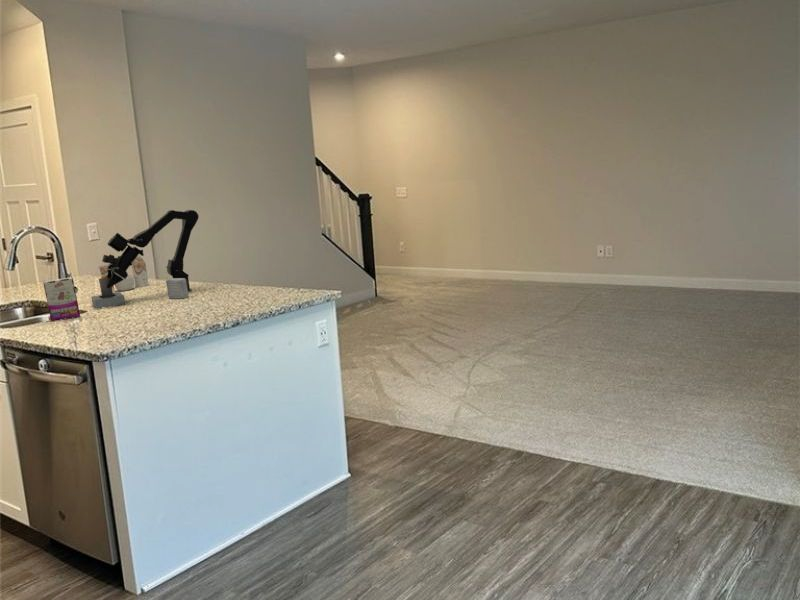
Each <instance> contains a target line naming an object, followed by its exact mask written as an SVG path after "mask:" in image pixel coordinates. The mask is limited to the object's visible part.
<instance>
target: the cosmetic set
mask: <svg viewBox="0 0 800 600" xmlns="http://www.w3.org/2000/svg"><path fill="white" fill-rule="evenodd" d="M109 264H110V263H105V264H102V265H99V266H98V269H99V271H100V276H101V275H107V274H108V272H107V269H108V268H107V266H108V265H109ZM131 268H132V269H131V270H132V274H133V275H128V276H127V278H126V279H124V278H123V279H124V280H122V281H121V282H119V283H117V284H115V285H113V286H112V292H113V293H116V292H115V289H116V290H117V291H118V292H127V291H131V290H133V289H134V287H136V288H144V287H143V286H145V287H148V286H150V284H149V277H148V271H147V264H146V262H145V260H144V258H142V257H141V255H140V254H139V255H138V256H137V257H136V258H135V260H134V261H133V262H132V265H131ZM126 290H127V291H126Z"/></svg>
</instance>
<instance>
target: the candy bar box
mask: <svg viewBox="0 0 800 600" xmlns="http://www.w3.org/2000/svg"><path fill="white" fill-rule="evenodd" d="M42 283H43V289H44V293H45V297H46V302H47V303H46V304H47V308H48V312H49V319H50V321H51V322H55V320H57V321H61V320H60V319H63V320H66V319H65V318H69V319H73V318H72V317H74V318H79V316H80V317H81V313H80V308H79V301H78V297H77V294H76V293H77V292H76V287H75V282H74V278H73V276H72V277H71V276H70V277H69V276H68V277H64V278H57V279H50V280H44V281H43V282H42Z"/></svg>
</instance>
